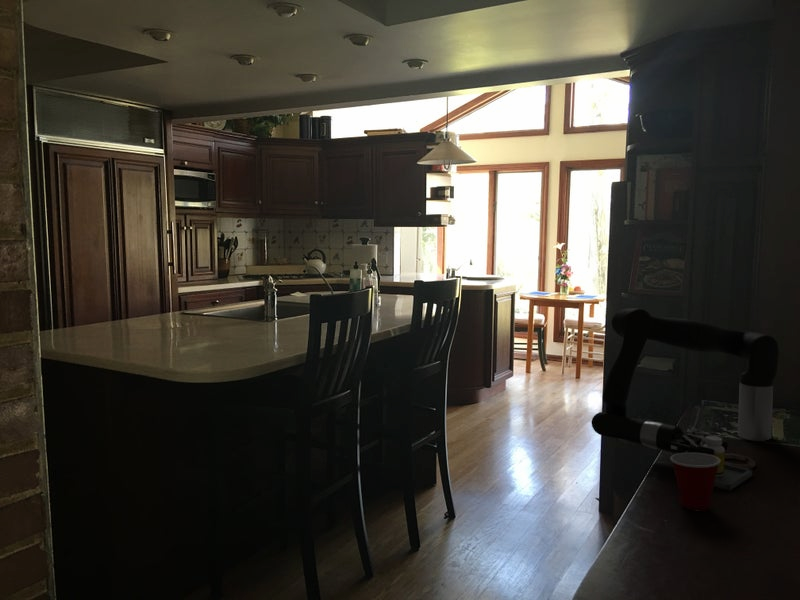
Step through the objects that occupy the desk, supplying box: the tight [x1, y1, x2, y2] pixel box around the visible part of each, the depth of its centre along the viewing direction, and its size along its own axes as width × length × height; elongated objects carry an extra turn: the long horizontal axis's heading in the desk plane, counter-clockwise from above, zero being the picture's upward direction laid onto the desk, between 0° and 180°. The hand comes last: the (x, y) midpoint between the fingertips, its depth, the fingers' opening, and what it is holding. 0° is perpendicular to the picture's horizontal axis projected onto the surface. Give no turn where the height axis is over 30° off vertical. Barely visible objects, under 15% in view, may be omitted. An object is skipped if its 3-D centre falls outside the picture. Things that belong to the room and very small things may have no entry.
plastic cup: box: [669, 453, 721, 512], centre depth 149 cm, size 11×11×12 cm
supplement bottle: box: [703, 435, 726, 477], centre depth 168 cm, size 5×5×10 cm
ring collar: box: [724, 453, 756, 470], centre depth 178 cm, size 10×10×1 cm
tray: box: [673, 463, 753, 492], centre depth 169 cm, size 15×14×2 cm
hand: (720, 449), depth 167 cm, fingers open, 8 cm apart
